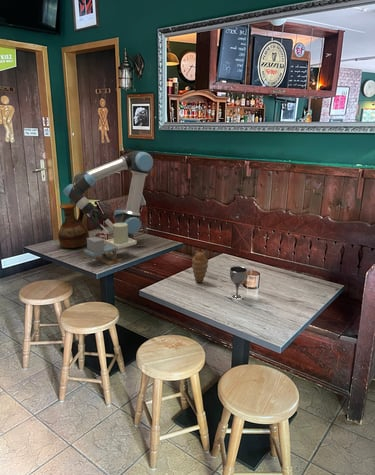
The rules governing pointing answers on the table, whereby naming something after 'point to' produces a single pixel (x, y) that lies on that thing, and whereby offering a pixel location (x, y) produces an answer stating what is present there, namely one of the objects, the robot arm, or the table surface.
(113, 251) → the pivot stand
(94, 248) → the balance beam
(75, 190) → the robot arm
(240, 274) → the wine glass
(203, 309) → the table surface
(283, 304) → the table surface
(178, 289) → the table surface
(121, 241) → the can
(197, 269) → the brown tapered upright piece
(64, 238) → the ceramic pitcher
